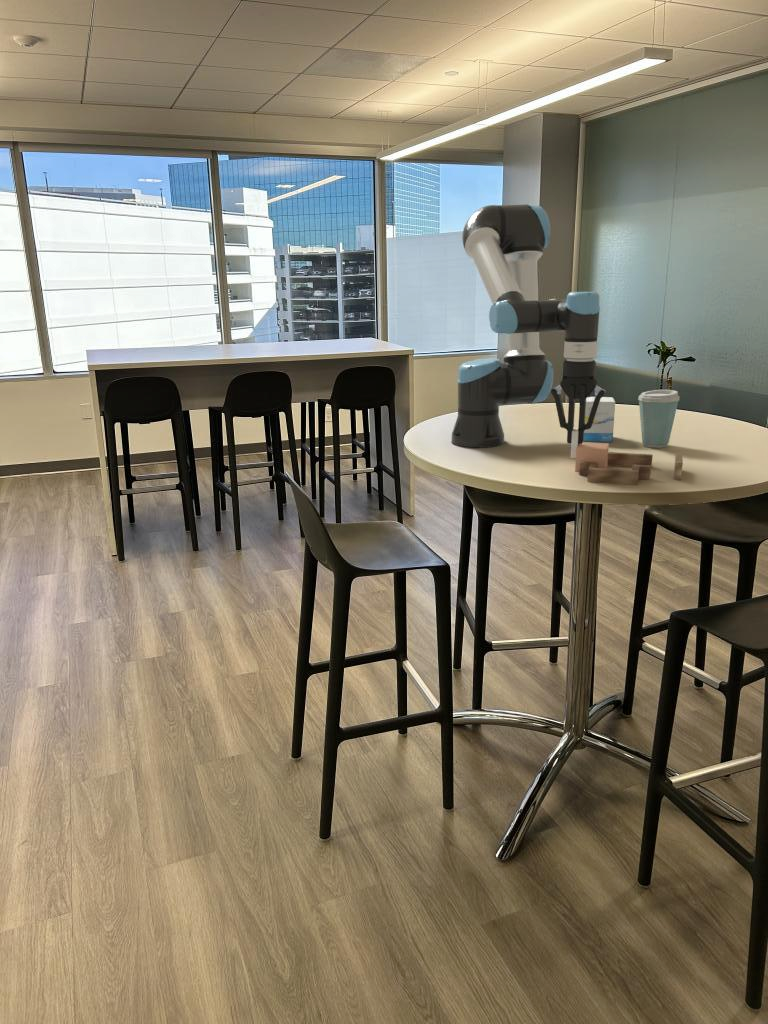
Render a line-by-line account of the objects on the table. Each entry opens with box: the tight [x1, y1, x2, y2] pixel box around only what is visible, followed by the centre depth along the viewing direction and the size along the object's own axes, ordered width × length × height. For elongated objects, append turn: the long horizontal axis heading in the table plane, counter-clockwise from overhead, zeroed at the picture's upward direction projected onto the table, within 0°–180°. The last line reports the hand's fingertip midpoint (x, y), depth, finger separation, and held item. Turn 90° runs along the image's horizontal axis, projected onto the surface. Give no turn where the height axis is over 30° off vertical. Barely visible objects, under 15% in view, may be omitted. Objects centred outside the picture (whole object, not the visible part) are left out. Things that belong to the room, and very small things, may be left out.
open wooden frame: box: [578, 451, 684, 486], centre depth 178 cm, size 23×18×4 cm
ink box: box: [583, 396, 616, 443], centre depth 215 cm, size 8×8×12 cm
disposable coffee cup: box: [637, 389, 680, 449], centre depth 205 cm, size 11×11×15 cm
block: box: [574, 441, 610, 473], centre depth 183 cm, size 7×7×6 cm
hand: (574, 456), depth 185 cm, fingers closed
